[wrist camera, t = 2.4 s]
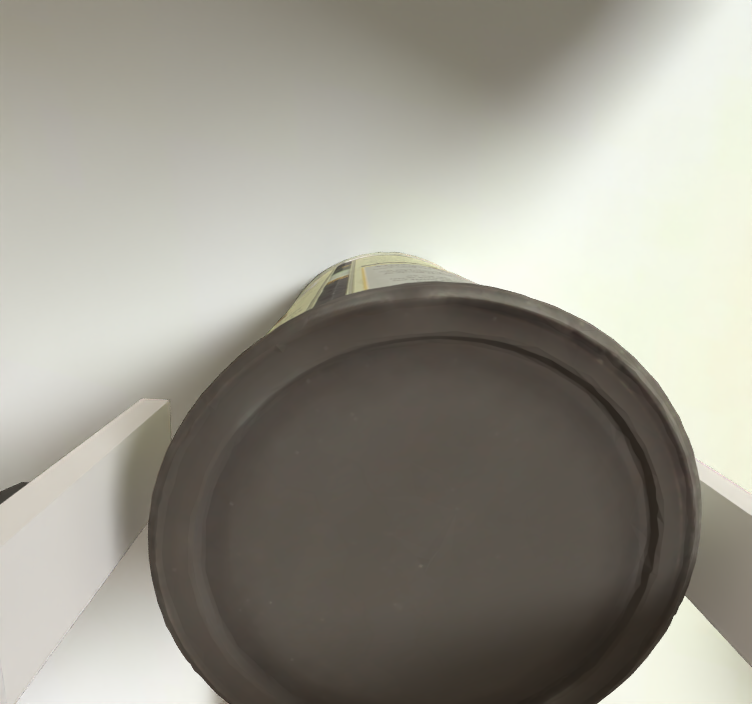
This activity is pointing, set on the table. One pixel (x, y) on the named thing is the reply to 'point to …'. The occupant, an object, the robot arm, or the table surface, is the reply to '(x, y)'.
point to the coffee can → (424, 502)
